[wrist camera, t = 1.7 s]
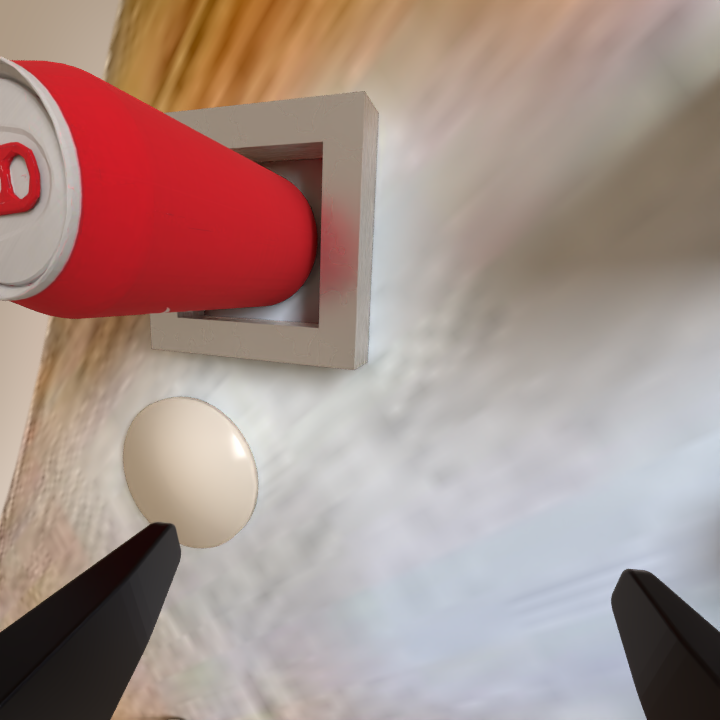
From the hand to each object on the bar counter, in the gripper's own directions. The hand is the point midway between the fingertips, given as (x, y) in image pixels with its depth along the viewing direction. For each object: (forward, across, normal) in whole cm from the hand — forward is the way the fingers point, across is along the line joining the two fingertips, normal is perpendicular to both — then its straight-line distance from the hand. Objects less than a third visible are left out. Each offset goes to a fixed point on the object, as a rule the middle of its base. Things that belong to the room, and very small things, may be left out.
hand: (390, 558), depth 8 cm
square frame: (+14, +7, -4) cm, 16 cm away
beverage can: (+15, +7, -3) cm, 17 cm away
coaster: (+12, +11, +9) cm, 19 cm away
